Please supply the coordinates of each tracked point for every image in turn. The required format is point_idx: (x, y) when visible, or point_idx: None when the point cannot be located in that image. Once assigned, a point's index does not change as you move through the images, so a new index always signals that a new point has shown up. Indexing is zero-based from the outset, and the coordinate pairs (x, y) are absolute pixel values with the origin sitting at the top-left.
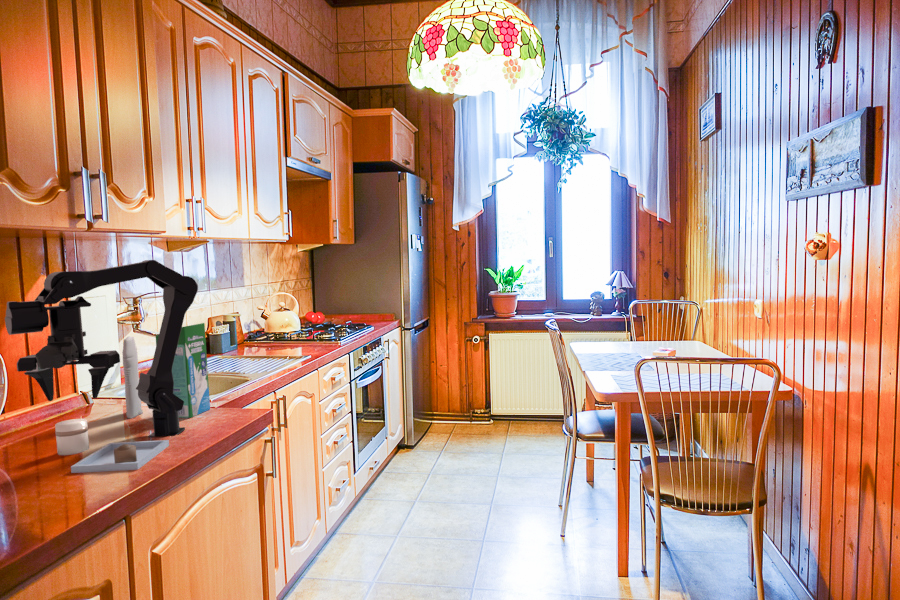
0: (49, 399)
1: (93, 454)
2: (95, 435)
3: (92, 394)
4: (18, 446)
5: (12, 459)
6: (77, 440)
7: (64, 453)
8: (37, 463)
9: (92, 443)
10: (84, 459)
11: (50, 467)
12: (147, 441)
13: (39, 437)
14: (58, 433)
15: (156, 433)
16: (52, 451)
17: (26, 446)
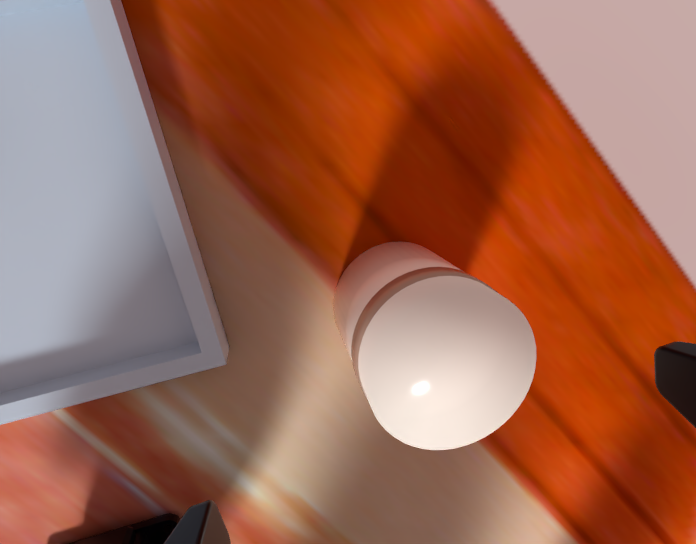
0: (677, 350)
1: (148, 181)
2: (469, 502)
3: (198, 534)
4: None
5: (609, 197)
6: (357, 298)
7: (394, 247)
8: (457, 154)
9: None
10: (126, 93)
11: (346, 101)
12: (9, 412)
13: (678, 444)
14: (459, 273)
15: (116, 538)
16: None
17: None
